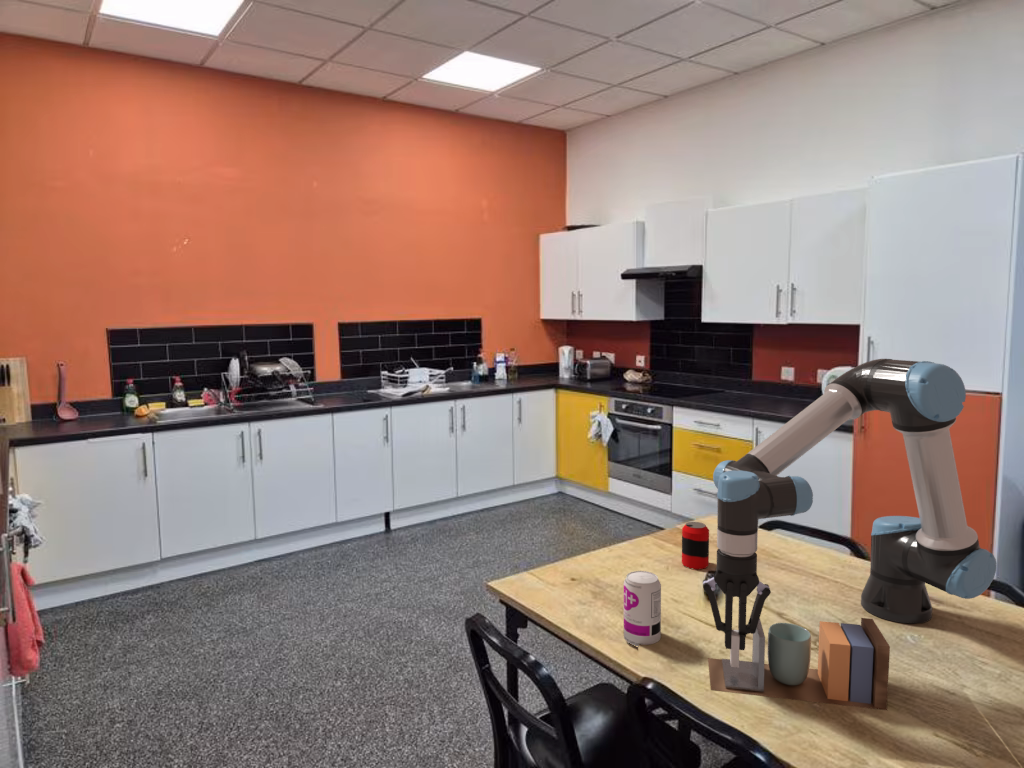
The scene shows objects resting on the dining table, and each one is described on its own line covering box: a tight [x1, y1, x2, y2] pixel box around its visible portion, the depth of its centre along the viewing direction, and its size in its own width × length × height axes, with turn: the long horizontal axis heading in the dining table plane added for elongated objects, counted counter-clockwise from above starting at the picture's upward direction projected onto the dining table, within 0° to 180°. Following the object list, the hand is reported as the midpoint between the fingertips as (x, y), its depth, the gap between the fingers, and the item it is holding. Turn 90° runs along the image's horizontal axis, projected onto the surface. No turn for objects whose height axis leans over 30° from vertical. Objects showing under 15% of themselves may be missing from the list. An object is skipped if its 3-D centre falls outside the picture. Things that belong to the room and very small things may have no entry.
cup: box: [767, 622, 812, 686], centre depth 130 cm, size 8×8×10 cm
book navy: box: [840, 622, 874, 704], centre depth 127 cm, size 4×9×11 cm, turn 166°
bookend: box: [722, 617, 766, 692], centre depth 132 cm, size 7×10×11 cm
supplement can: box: [623, 570, 662, 648], centre depth 149 cm, size 8×8×15 cm
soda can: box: [681, 521, 710, 570], centre depth 192 cm, size 8×8×12 cm
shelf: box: [707, 617, 891, 711], centre depth 130 cm, size 31×12×13 cm, turn 76°
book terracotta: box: [817, 620, 850, 701], centre depth 128 cm, size 4×9×11 cm, turn 166°
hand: (734, 663), depth 132 cm, fingers closed
